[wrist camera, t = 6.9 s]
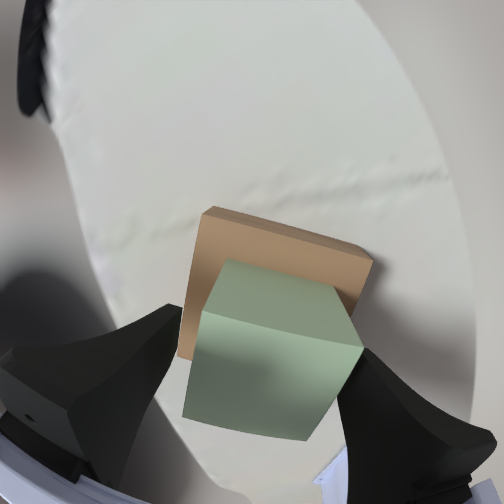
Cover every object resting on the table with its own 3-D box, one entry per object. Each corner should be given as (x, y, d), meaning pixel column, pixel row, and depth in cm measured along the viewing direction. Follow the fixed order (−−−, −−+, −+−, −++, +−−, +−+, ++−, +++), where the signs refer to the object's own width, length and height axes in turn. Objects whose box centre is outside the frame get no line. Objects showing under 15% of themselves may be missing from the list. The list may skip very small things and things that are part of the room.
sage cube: (298, 368, 14) (306, 441, 9) (206, 346, 14) (182, 416, 9) (333, 285, 13) (364, 347, 8) (227, 257, 12) (202, 310, 8)
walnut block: (309, 357, 17) (314, 387, 14) (190, 328, 17) (176, 356, 14) (355, 243, 15) (373, 260, 12) (215, 204, 15) (201, 213, 12)
